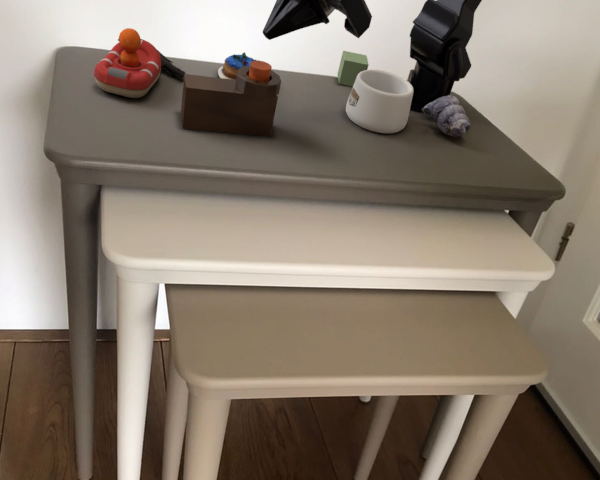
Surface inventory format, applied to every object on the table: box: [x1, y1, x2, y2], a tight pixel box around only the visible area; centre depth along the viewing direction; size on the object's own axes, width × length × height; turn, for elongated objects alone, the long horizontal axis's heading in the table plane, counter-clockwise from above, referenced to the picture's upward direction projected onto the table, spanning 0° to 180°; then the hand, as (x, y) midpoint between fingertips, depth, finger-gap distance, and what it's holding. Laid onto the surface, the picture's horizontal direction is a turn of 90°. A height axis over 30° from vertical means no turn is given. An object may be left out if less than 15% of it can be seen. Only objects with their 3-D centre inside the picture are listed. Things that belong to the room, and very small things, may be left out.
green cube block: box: [337, 50, 369, 88], centre depth 110 cm, size 4×4×4 cm
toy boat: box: [93, 27, 162, 99], centre depth 92 cm, size 8×12×8 cm, turn 173°
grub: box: [421, 95, 471, 137], centre depth 103 cm, size 5×5×10 cm
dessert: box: [217, 52, 260, 80], centre depth 103 cm, size 8×7×6 cm
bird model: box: [117, 38, 187, 79], centre depth 100 cm, size 3×14×3 cm, turn 61°
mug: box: [345, 69, 413, 134], centre depth 101 cm, size 12×10×6 cm
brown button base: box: [180, 66, 282, 138], centre depth 89 cm, size 12×6×8 cm, turn 101°
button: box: [249, 60, 273, 82], centre depth 87 cm, size 3×3×2 cm
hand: (265, 36), depth 84 cm, fingers closed
